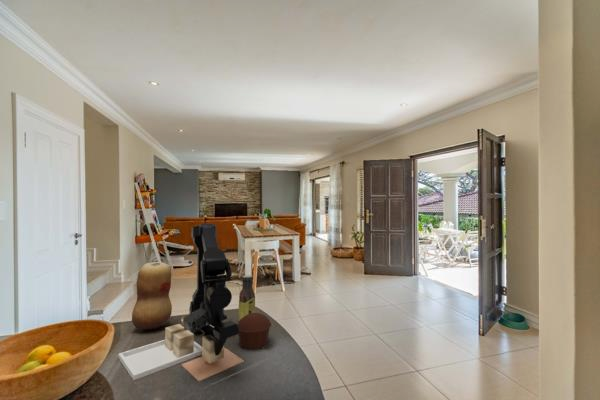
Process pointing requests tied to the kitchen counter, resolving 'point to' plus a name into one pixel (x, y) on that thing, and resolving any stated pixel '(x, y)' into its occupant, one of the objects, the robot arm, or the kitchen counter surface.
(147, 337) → the kitchen counter surface
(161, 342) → the white shallow tray
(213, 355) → the labelled box
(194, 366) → the terracotta tile
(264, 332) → the muffin
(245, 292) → the sauce bottle
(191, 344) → the plain box
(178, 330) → the plain box
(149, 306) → the butternut squash
